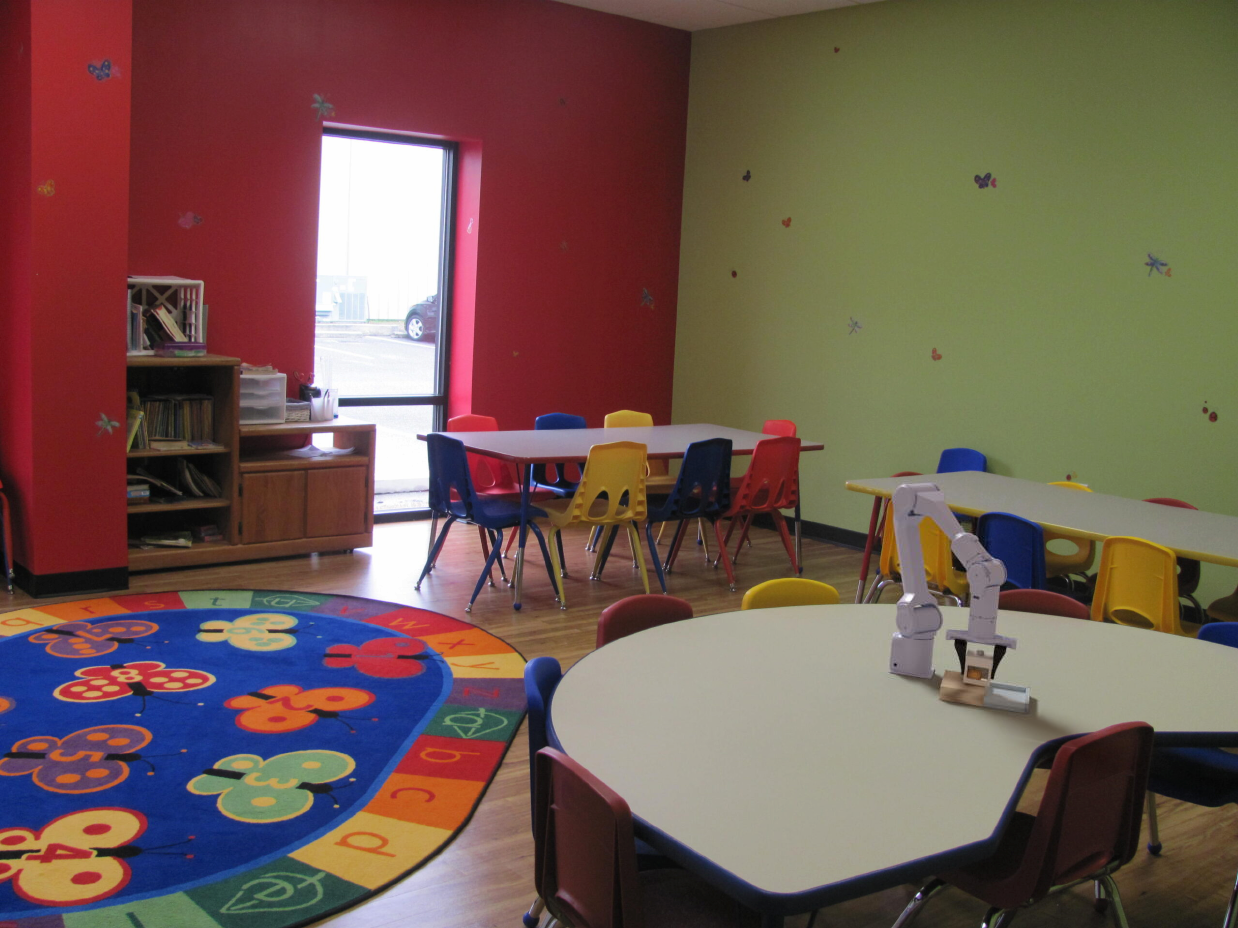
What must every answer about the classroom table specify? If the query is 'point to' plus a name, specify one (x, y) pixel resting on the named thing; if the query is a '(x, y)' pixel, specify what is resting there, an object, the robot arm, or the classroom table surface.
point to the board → (961, 689)
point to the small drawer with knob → (979, 666)
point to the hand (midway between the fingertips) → (977, 675)
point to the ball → (974, 674)
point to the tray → (1007, 697)
